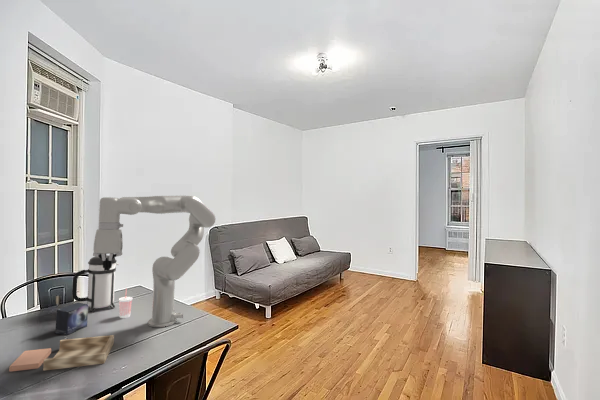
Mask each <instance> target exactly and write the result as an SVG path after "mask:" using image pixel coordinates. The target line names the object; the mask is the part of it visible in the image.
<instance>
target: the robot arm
mask: <svg viewBox="0 0 600 400" xmlns="http://www.w3.org/2000/svg"><path fill="white" fill-rule="evenodd" d="M98 211H99V214H98V229H96V232H95V235H94V240H93V249H92V251H93V254H92V256H93V257H95V256H96V257H100V258H101V259H102V261H103V268H104V271H105V270H110V268H112V259H114V258H115V259H116V257H121V256H122V255H123V231H122V229H120V228H124V223H121V222H120V221H121V220H120V219H121V215H128V216H135V215H137V214H138V213H149V214H156V215H157V214H161V215H162V214H164V215H165V214H175V213H176V214H178V213H180V214H181V213H182V214H183V213H187V214H189V218H188V222H189V227H188V228H187V229H188V230H187V231H186V232H185V233H184V234H183V236H182V237H180V238H179V239H178V241H176V242H175V243H174V244H173V245H172V247H171V250H170V255H171V256H172V257H168V256H161V257H158V258H156V259H155V261H154V262H153V263H152V279H153V281H152V282H153V287H152V307H151V309H152V311H151V312H152V313H151V318H150V319H149V320H148V321H147V323H148V326H150V327H151V328H152V327H153V328H164V327H165V326H166V327H169V325H170V326H172V325H174V324H176V323H177V319H183V318H184V313H181V312H175V309H174V307H175V289H176V288H175V286H176V285H175V283H176V282H175V281H177V280H179V279H180V278H182V277H184V275H185V274H186V273H187V272H188V271H189V269H190V268H191V267H192V266H193V265H194V264H195V263H196V262H197V261H198V259H199V257H200V253H201V251H200V247H199V246H198V245H199V244H200V243H201V242H202V240H203V238H204V235H205V229H207V228H211V227H213V226H214V225H215V223H216V216H215V213H214V212H213V211H212V210H211V209H210V208H209V207H208V206H207V205H206V204H205V203H204V202H202V201H201V200H200V199H199V198H198V197H196V196H194V195H152V196H151V195H150V196H122V197H119V198H118V197H111V196H109V197H107V196H106V197H105V196H104V197H101V198H100V199H99V209H98ZM108 254H109V255H108ZM107 255H108V256H109V259H108V260H107Z"/></svg>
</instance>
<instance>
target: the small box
mask: <svg viewBox="0 0 600 400" xmlns="http://www.w3.org/2000/svg"><path fill="white" fill-rule="evenodd" d="M88 312H89V307H88V304H87V303H83V302H75V303H72V304H70V305H67V306H63V307H61V308H58V309H56V316H55V317H56V318H55V330H54V334H56V335H62V336H68V335H71V334H73V333H76V332H77V331H79V330H82V329H84V328H87V327H88V315H89V313H88Z"/></svg>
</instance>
